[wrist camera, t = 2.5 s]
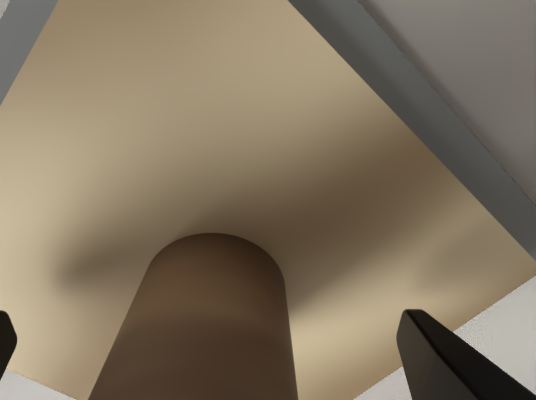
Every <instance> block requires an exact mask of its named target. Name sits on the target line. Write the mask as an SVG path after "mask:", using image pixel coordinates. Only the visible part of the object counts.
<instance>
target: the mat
mask: <svg viewBox="0 0 536 400" xmlns="http://www.w3.org/2000/svg"><path fill="white" fill-rule="evenodd" d="M58 1H59V0H10V2H9V4H8V6H7V8H6V10H5V12H4V14H3V16H2V18H1V20H0V106H1V104H2V102H3V100H4V98H5V97H6V95H7V93H8V91H9V89H10V87H11V86H12V84H13V82H14V80H15V78H16V77H17V75H18V73H19V71H20V69H21V68H22V66H23V64H24V62H25V60H26V58H27V57H28V55H29V53H30V51H31V49H32V48H33V46H34V44H35V42H36V40H37V39H38V37H39V35H40V33H41V31H42V30H43V28H44V26H45V24H46V22H47V20H48V19H49V17H50V15H51V13H52V11H53V10H54V8H55V6H56V4H57V2H58ZM288 1H289V2H290V3H291V5H292V6H293V7H294V8H295V9H296V10H297V11H298V12H299V13H300V14H301V15H302V16H303V17H304V18H305V19H306V20H307V21H308V22H309V23H310V24H311V26H312V27H313V28H314V29H315V30H316V31H317V32H318V33H319V34H320V35H321V36H322V37H323V38H324V39H325V40H326V41H327V42H328V43H329V44H330V46H331V47H332V48H333V49H334V50H335V51H336V52H337V53H338V54H339V55H340V56H341V57H342V58H343V59H344V60H345V61H346V62H347V63H348V64H349V65H350V67H351V68H352V69H353V70H354V71H355V72H356V73H357V74H358V75H359V76H360V77H361V78H362V79H363V80H364V81H365V82H366V83H367V84H368V85H369V86H370V88H371V89H372V90H373V91H374V92H375V93H376V94H377V95H378V96H379V97H380V98H381V99H382V100H383V101H384V102H385V103H386V104H387V105H388V106H389V108H390V109H391V110H392V111H393V112H394V113H395V114H396V115H397V116H398V117H399V118H400V119H401V120H402V121H403V122H404V123H405V124H406V125H407V126H408V127H409V129H410V130H411V131H412V132H413V133H414V134H415V135H416V136H417V137H418V138H419V139H420V140H421V141H422V142H423V143H424V144H425V145H426V146H427V147H428V149H429V150H430V151H431V152H432V153H433V154H434V155H435V156H436V157H437V158H438V159H439V160H440V161H441V162H442V163H443V164H444V165H445V166H446V167H447V168H448V170H449V171H450V172H451V173H452V174H453V175H454V176H455V177H456V178H457V179H458V180H459V181H460V182H461V183H462V184H463V185H464V186H465V187H466V188H467V190H468V191H469V192H470V193H471V194H472V195H473V196H474V197H475V198H476V199H477V200H478V201H479V202H480V203H481V204H482V205H483V206H484V207H485V208H486V209H487V211H488V212H489V213H490V214H491V215H492V216H493V217H494V218H495V219H496V220H497V221H498V222H499V223H500V224H501V225H502V226H503V227H504V228H505V229H506V230H507V232H508V233H509V234H510V235H511V236H512V237H513V238H514V239H515V240H516V241H517V242H518V243H519V244H520V245H521V246H522V247H523V248H524V249H525V250H526V252H527V253H528V254H529V255H530V256H531V257H532V258H533V259H534V260H535V261H536V206H535V204H534V203H533V202H532V201H531V200H530V199H529V197H528V196H527V195H526V194H525V193H524V192H523V191H522V189H521V188H520V187H519V186H518V185H517V184H516V182H515V181H514V180H513V179H512V178H511V177H510V176H509V174H508V173H507V172H506V171H505V170H504V169H503V168H502V166H501V165H500V164H499V163H498V162H497V161H496V159H495V158H494V157H493V156H492V155H491V154H490V153H489V151H488V150H487V149H486V148H485V147H484V146H483V144H482V143H481V142H480V141H479V140H478V139H477V138H476V136H475V135H474V134H473V133H472V132H471V131H470V130H469V128H468V127H467V126H466V125H465V124H464V123H463V121H462V120H461V119H460V118H459V117H458V116H457V115H456V113H455V112H454V111H453V110H452V109H451V108H450V106H449V105H448V104H447V103H446V102H445V101H444V100H443V98H442V97H441V96H440V95H439V94H438V93H437V92H436V90H435V89H434V88H433V87H432V86H431V85H430V83H429V82H428V81H427V80H426V79H425V78H424V77H423V75H422V74H421V73H420V72H419V71H418V70H417V68H416V67H415V66H414V65H413V64H412V63H411V62H410V60H409V59H408V58H407V57H406V56H405V55H404V54H403V52H402V51H401V50H400V49H399V48H398V47H397V45H396V44H395V43H394V42H393V41H392V40H391V39H390V37H389V36H388V35H387V34H386V33H385V32H384V30H383V29H382V28H381V27H380V26H379V25H378V24H377V22H376V21H375V20H374V19H373V18H372V17H371V15H370V14H369V13H368V12H367V11H366V10H365V9H364V7H363V6H362V5H361V4H360V3H359V2H358V1H357V0H288Z"/></svg>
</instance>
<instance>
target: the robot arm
mask: <svg viewBox="0 0 536 400" xmlns="http://www.w3.org/2000/svg"><path fill="white" fill-rule="evenodd" d="M396 342H397V346H398V350H399V354H400V357H401V361H402V364H403V368H404V372H405V375H406V379H407V382H408V386H409V389H410V393H411V397H412V400H536V395H535V394H533V393H532V392H531V391H529V390H528V389H527V388H525V387H524V386H523V385H522V384H520V383H519V382H518V381H516V380H515V379H514V378H512V377H511V376H510V375H508V374H507V373H506V372H504V371H503V370H502V369H500V368H499V367H498V366H497V365H495V364H494V363H493V362H491V361H490V360H489V359H487V358H486V357H485V356H483V355H482V354H481V353H479V352H478V351H477V350H475V349H474V348H473V347H471V346H470V345H469V344H468V343H466V342H465V341H464V340H462V339H461V338H460V337H458V336H457V335H456V334H454V333H453V332H452V331H450V330H449V329H448V328H446V327H445V326H444V325H443V324H441V323H440V322H439V321H437V320H436V319H435V318H433V317H432V316H431V315H429V314H428V313H427V312H425V311H424V310H422V309H405V310H404V311H403V312H402V315H401V319H400V323H399V326H398V330H397V334H396ZM16 345H17V334H16V332H15V329H14V327H13V324H12V322H11V319H10V317H9V315H8V313H7V312H6V311H3V310H0V380H1V378H2V376H3V374H4V372H5V369H6V367H7V365H8V363H9V361H10V359H11V357H12V355H13V353H14V351H15V348H16Z"/></svg>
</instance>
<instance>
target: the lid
mask: <svg viewBox="0 0 536 400" xmlns="http://www.w3.org/2000/svg"><path fill="white" fill-rule="evenodd" d="M535 275H536V261H535V260H534V259H533V258H532V257H531V256H530V255H529V254H528V253H527V252H526V250H525V249H524V248H523V247H522V246H521V245H520V244H519V243H518V242H517V241H516V240H515V239H514V238H513V237H512V236H511V235H510V234H509V233H508V232H507V230H506V229H505V228H504V227H503V226H502V225H501V224H500V223H499V222H498V221H497V220H496V219H495V218H494V217H493V216H492V215H491V214H490V213H489V212H488V211H487V209H486V208H485V207H484V206H483V205H482V204H481V203H480V202H479V201H478V200H477V199H476V198H475V197H474V196H473V195H472V194H471V193H470V192H469V191H468V190H467V188H466V187H465V186H464V185H463V184H462V183H461V182H460V181H459V180H458V179H457V178H456V177H455V176H454V175H453V174H452V173H451V172H450V171H449V170H448V168H447V167H446V166H445V165H444V164H443V163H442V162H441V161H440V160H439V159H438V158H437V157H436V156H435V155H434V154H433V153H432V152H431V151H430V150H429V149H428V147H427V146H426V145H425V144H424V143H423V142H422V141H421V140H420V139H419V138H418V137H417V136H416V135H415V134H414V133H413V132H412V131H411V130H410V129H409V127H408V126H407V125H406V124H405V123H404V122H403V121H402V120H401V119H400V118H399V117H398V116H397V115H396V114H395V113H394V112H393V111H392V110H391V109H390V108H389V106H388V105H387V104H386V103H385V102H384V101H383V100H382V99H381V98H380V97H379V96H378V95H377V94H376V93H375V92H374V91H373V90H372V89H371V88H370V86H369V85H368V84H367V83H366V82H365V81H364V80H363V79H362V78H361V77H360V76H359V75H358V74H357V73H356V72H355V71H354V70H353V69H352V68H351V67H350V65H349V64H348V63H347V62H346V61H345V60H344V59H343V58H342V57H341V56H340V55H339V54H338V53H337V52H336V51H335V50H334V49H333V48H332V47H331V46H330V44H329V43H328V42H327V41H326V40H325V39H324V38H323V37H322V36H321V35H320V34H319V33H318V32H317V31H316V30H315V29H314V28H313V27H312V26H311V24H310V23H309V22H308V21H307V20H306V19H305V18H304V17H303V16H302V15H301V14H300V13H299V12H298V11H297V10H296V9H295V8H294V7H293V6H292V5H291V3H290V2H289V1H288V0H59V1H58V2H57V4H56V6H55V8H54V10H53V11H52V13H51V15H50V17H49V19H48V20H47V22H46V24H45V26H44V28H43V30H42V31H41V33H40V35H39V37H38V39H37V40H36V42H35V44H34V46H33V48H32V49H31V51H30V53H29V55H28V57H27V58H26V60H25V62H24V64H23V66H22V68H21V69H20V71H19V73H18V75H17V77H16V78H15V80H14V82H13V84H12V86H11V87H10V89H9V91H8V93H7V95H6V97H5V98H4V100H3V102H2V104H1V106H0V310H3V311H6V312H7V313H8V315H9V317H10V319H11V322H12V324H13V327H14V329H15V332H16V334H17V345H16V348H15V351H14V353H13V355H12V357H11V359H10V361H9V363H8V365H7V367H6V369H8V370H10V371H12V372H15V373H17V374H19V375H22V376H24V377H26V378H29V379H31V380H33V381H35V382H38V383H40V384H42V385H45V386H47V387H49V388H51V389H54V390H56V391H58V392H61V393H63V394H65V395H68V396H70V397H72V398H74V399H77V400H353V399H354V398H356V397H357V396H359V395H360V394H362V393H363V392H365V391H366V390H368V389H369V388H371V387H372V386H373V385H375V384H376V383H378V382H379V381H381V380H382V379H384V378H385V377H387V376H388V375H390V374H391V373H393V372H394V371H396V370H397V369H398V368H400V367H401V366H403V364H402V361H401V357H400V354H399V350H398V346H397V342H396V334H397V330H398V326H399V323H400V319H401V315H402V312H403V311H404V310H405V309H422V310H424V311H425V312H427V313H428V314H429V315H431V316H432V317H433V318H435V319H436V320H437V321H439V322H440V323H441V324H443V325H444V326H445V327H446V328H448V329H449V330H450V331H452V332H453V331H454V330H456V329H457V328H459V327H460V326H462V325H463V324H465V323H466V322H468V321H469V320H471V319H472V318H474V317H475V316H476V315H478V314H479V313H481V312H482V311H484V310H485V309H487V308H488V307H490V306H491V305H493V304H494V303H496V302H497V301H499V300H500V299H502V298H503V297H504V296H506V295H507V294H509V293H510V292H512V291H513V290H515V289H516V288H518V287H519V286H521V285H522V284H524V283H525V282H527V281H528V280H529V279H531V278H532V277H534V276H535Z"/></svg>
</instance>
